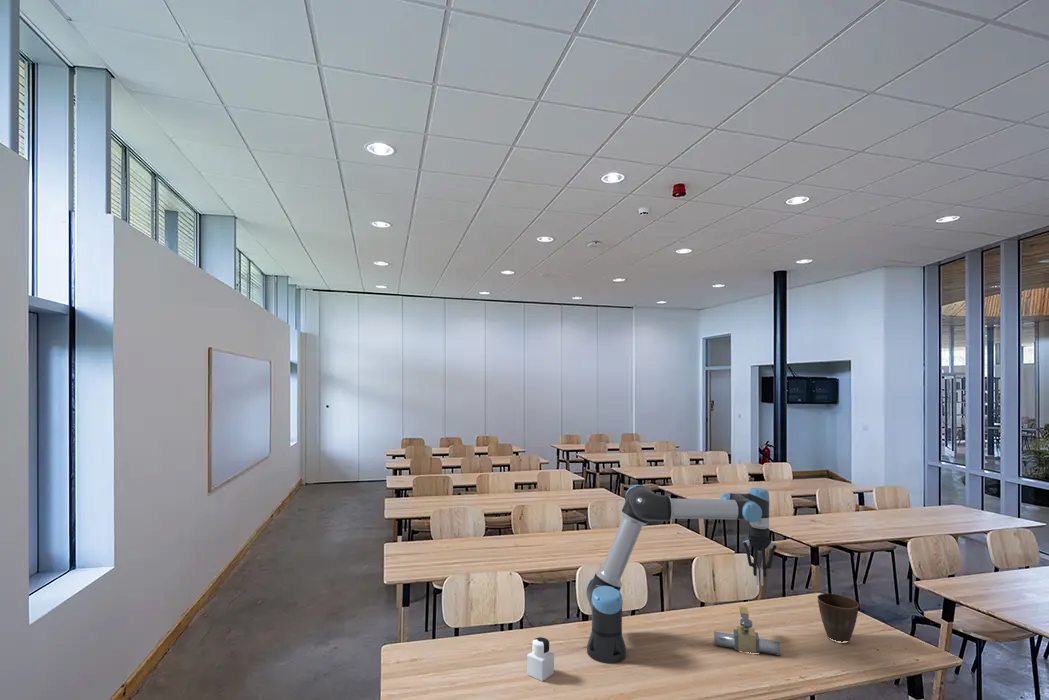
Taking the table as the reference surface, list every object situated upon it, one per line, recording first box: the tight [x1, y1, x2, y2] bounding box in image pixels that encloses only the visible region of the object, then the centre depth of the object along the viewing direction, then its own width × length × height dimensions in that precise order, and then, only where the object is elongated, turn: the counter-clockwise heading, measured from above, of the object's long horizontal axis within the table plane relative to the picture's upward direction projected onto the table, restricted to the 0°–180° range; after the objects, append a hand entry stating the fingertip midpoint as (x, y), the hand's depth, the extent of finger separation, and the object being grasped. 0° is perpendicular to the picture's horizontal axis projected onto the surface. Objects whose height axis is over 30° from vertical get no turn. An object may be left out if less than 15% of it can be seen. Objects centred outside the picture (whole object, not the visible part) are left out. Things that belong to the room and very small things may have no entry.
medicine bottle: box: [526, 637, 555, 682], centre depth 195 cm, size 7×7×12 cm
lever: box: [739, 606, 753, 628], centre depth 222 cm, size 17×4×2 cm, turn 162°
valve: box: [713, 625, 781, 656], centre depth 216 cm, size 24×7×9 cm, turn 72°
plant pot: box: [817, 593, 860, 642], centre depth 226 cm, size 15×15×16 cm
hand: (759, 584), depth 226 cm, fingers closed
